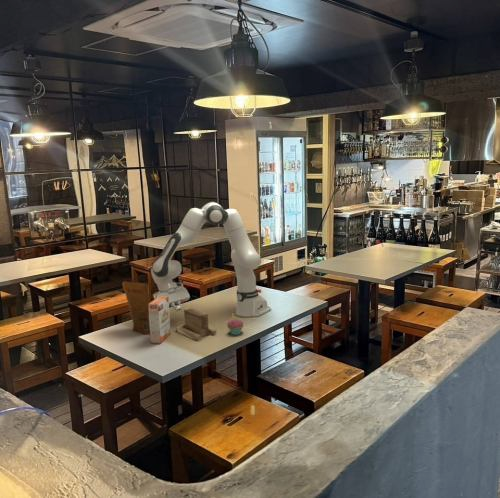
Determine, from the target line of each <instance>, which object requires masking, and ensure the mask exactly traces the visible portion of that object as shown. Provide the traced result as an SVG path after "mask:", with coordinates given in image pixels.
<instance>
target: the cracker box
mask: <svg viewBox="0 0 500 498" xmlns="http://www.w3.org/2000/svg"><path fill="white" fill-rule="evenodd" d="M148 309H149V324H150V334H149V338H150V344H159V345H160V344H162V343H163V342H164V341H165V340H167V338H168V337H169V336H170V335H171V315H170V306H169V297H167V296H159V297H157V298H156V299H153V300H152V301H150V303H149V304H148Z"/></svg>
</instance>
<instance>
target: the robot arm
mask: <svg viewBox="0 0 500 498" xmlns="http://www.w3.org/2000/svg"><path fill="white" fill-rule="evenodd" d="M242 219H243V218H242V217H241V215H240V213H239V211H238V210H237V209H235V208H227V209H224V208H223V207H222V206H221V205H220V204H219V203H217V202H215V201H209V202H207V203H205V204H204V205H202V206H201V207H200V208H198V207H193V208H192V207H191V208H190V209H189V210H188V212H187V213H186V215H185V216H184V217H183V220H182V222H181V223H180V225H179V228H178V229H177V230H176V232H175V233H173V234H172V235H171V237H170V238H169V240H168V241H167V243H166V244H165V246H164V248H163V250H162V251H161V252H160V254H159V256H158V257H157V258H156V259H155V260H154V261H153V263H152V267H151V269H150V273H151V277H152V278H153V282H154V283H155V284H156V286H157V288H158V291H155V292H154V293H153V294H152V297H153V300H155V299H156V298H157V297H159V296H167V297H169V307H171V308H173V309H174V311H175V312H177V311H180V310H182V307H181V303H183V302H187V301H189V299H190V298H191V296H190V293H189V291H188V290H187V288H185V287H184V283H182V282H174V281H173V280H174V279H176V278H178V277H179V276H180V275H181V273H182V272H183V266H182V263H181V262H180V261H178V260H176V259H175V260H173V259H172V257H173V256H174V254H175V252H176V251H177V250H178V249H179V248H180V247H182V246H184V245H188V244H191V243H193V242H195V240H197V238H198V236H199V234H200V232H201V230H202V227H203V226H204V224H206V223H207V222H208V223H209V224H211V225H222V226H223V228H224V231H225V234H226V236H227V239H228V242H229V244H230V245H231V247H232V248H233V249H232V251H231V253H230V258H231V260H232V263H233V267H234V272H235V275H236V289H237V290H236V299H237V300H236V309H235V315H237V316H239V317H246V318H247V317H248V318H249V317H254V318H255V317H256V318H257V317H260V316H262V315H264V314H266V313H268V312H270V311H271V310H272V307H271V306H269V305H268V302H267V300H266V299H265V298H264V297H262V296H261V295H259V294H260V293H262V289H260V288H258V289H257V282H256V280H257V279H256V275H255V273H254V270H256V269H257V268H259V267H260V265H261V262H262V259H261V256H260V254H259V253H258V252H257V251H256V249H255V246H254V244H253V243H252V241H251V239H250V237H249V235H248V233H247V230H246V229H247V228H246V226H245V224H244V222H243V220H242ZM269 310H270V311H269Z"/></svg>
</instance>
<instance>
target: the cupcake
mask: <svg viewBox="0 0 500 498" xmlns="http://www.w3.org/2000/svg"><path fill="white" fill-rule="evenodd" d="M231 314H232V315H231V317H232V319H231V320H229V321H228V322H227V324H226V325H227V329H229V331H230V334H231V335H233V336H237V335H240V334H241V332H242V329H243V328H244V322H243V321H241V320H239V319H235V317H234V313H233V312H232V313H231Z"/></svg>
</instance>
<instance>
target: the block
mask: <svg viewBox="0 0 500 498" xmlns="http://www.w3.org/2000/svg"><path fill="white" fill-rule="evenodd" d="M183 311H184V315H183V316H184V324H185V329H187V330H190V331H192V332H194V333H197V334H199V335H201V339H203V338H206V337H208V336H209V335H210V334H209V328H208V327H209V318H208V317H209V314H208V312H207V313H206V312H204V311H201V310H198V309H196V308H192V307H190V308H187V309H184V310H183Z"/></svg>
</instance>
